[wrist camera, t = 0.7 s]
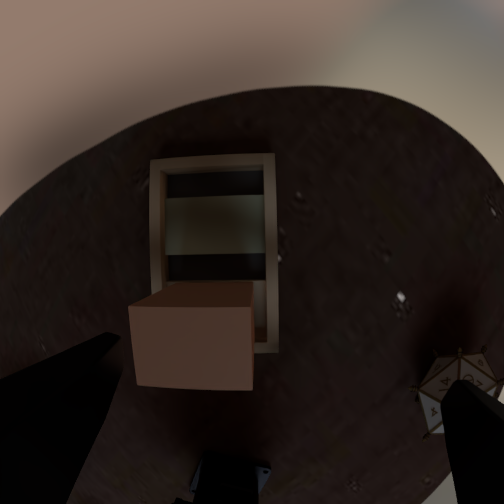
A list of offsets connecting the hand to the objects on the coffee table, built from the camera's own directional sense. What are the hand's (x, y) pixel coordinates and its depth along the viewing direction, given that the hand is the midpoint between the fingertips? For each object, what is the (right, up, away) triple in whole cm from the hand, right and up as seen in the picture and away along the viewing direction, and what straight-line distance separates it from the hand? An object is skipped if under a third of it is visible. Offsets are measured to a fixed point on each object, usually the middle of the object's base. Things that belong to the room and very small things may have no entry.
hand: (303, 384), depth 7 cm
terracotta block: (-4, -1, +16) cm, 16 cm away
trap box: (-4, +3, +17) cm, 18 cm away
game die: (+16, -8, +17) cm, 25 cm away
